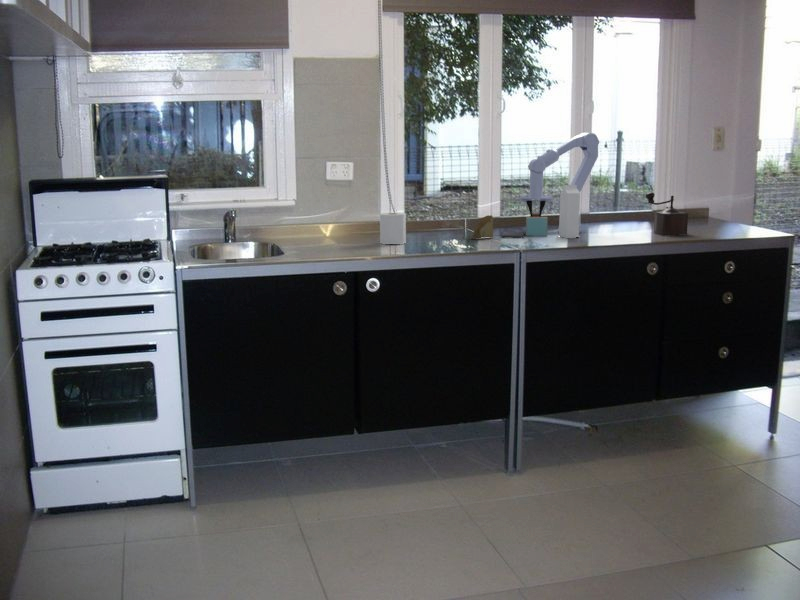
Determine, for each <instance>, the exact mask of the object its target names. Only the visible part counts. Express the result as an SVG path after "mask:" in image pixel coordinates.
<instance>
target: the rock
mask: <svg viewBox="0 0 800 600" xmlns="http://www.w3.org/2000/svg"><path fill="white" fill-rule="evenodd" d="M493 226H494V218H493V215H492V214H491V215H489V214H488V215H486V216H484V217H482V218H480V219H479V222H478V224H477V226H476V227H475V228H474V230H473V234H472V237H471V239H472V240H477V239H476V238H481V237H493V238H494V230H493V229H494V228H493Z"/></svg>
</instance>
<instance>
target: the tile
mask: <svg viewBox="0 0 800 600" xmlns="http://www.w3.org/2000/svg"><path fill="white" fill-rule="evenodd" d="M526 235H538V236H537V237H548V216H541V217H531V216H526V217H525V236H526Z"/></svg>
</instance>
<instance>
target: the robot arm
mask: <svg viewBox="0 0 800 600" xmlns="http://www.w3.org/2000/svg"><path fill="white" fill-rule="evenodd" d="M599 144H600V140H599V138H598V135H597V134H595V133H594V132H580V133H579V134H578V135H575V136H573V137H572V138H571V139H569V140H567V141H566V142H565V143H563V144H561V145H560V146H559V147H556V149H554V148H553V149H552V148H551V149H550V148H549V149H546V150H545V153H543V154H541V155H537V157H536V158H533V159H531V160H530V162H529V164H528V167H527V168H528V170H529V172H530V173H529V174H530V175H529V196H519V202H526V205H527V208H528V211H529V215H530V217H532V211H533V202H539V217H542V214H543V210H544V207H545V205H546V203H547V202H554V197H553V196H544V171H545V170H546V168H549V167H550V166H551V165H554V164H555V163H556V162H557V161H559V159H560V156H563V155H565V153H568V152H570V151H571V150H572V149H574V148H580V149H581V151H582V153H583V155H584V157H583V159H582V161H581V163H580V165H579V166H578V169H577V171H576V173H575V174H574V177H573V179H572V181H571V183H570V185H577V189H578V191H579V192H580V193H581V191H582V189H583V187H584V186H585V184H586V181H587V180H588V177H589V175H590V173H591V171H592V169H593V168H594V167H595V163H596V162H597V160H598V157H599ZM557 205H558V207H559V208H560V197H559V198H558V200H557ZM581 213H582V212H581V211H580V214H579V233H581V228H582V224H581V222H582V221H581V219H582V217H581ZM558 217H559V218H558V219H559V222H558V223H559V224H558V225H559V226H558V228H557V231H558V233H559V227H560V215H559V216H558Z"/></svg>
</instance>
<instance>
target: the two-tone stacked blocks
mask: <svg viewBox="0 0 800 600" xmlns="http://www.w3.org/2000/svg"><path fill="white" fill-rule="evenodd" d="M539 213H540V210H537V211H534V210H532V217H539Z"/></svg>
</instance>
